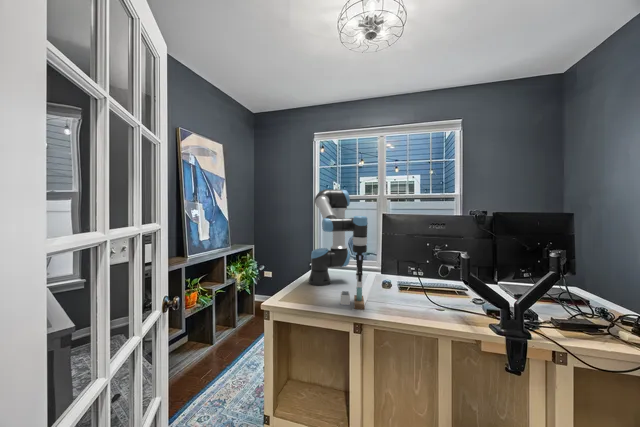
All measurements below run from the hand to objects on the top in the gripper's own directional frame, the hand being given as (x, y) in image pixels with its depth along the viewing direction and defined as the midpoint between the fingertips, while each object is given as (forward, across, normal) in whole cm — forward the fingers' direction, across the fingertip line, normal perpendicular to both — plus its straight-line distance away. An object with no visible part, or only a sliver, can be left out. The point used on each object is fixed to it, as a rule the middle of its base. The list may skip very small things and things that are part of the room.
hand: (359, 283), depth 146 cm
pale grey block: (+12, 0, -7) cm, 14 cm away
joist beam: (+12, +1, 0) cm, 12 cm away
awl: (+9, +1, 0) cm, 9 cm away
